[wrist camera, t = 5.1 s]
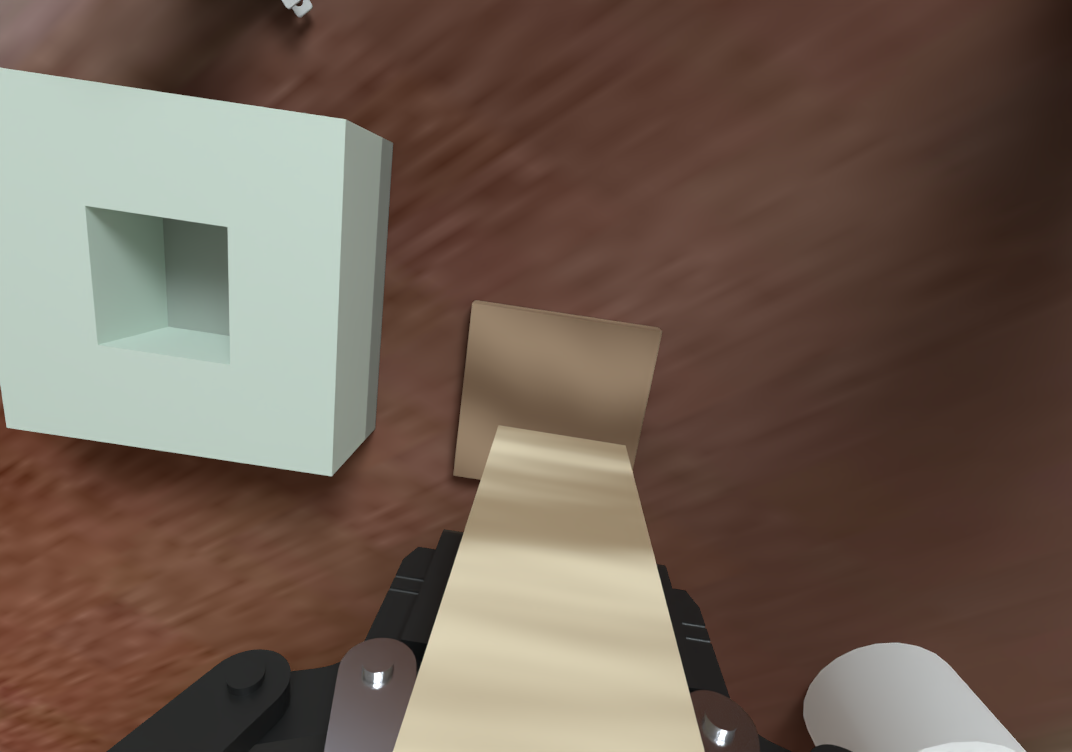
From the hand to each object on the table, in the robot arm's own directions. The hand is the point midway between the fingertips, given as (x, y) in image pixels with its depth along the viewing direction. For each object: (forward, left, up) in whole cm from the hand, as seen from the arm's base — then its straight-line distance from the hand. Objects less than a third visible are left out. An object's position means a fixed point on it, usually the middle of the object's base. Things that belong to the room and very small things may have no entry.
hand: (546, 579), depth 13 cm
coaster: (0, 0, -15) cm, 15 cm away
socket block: (-4, -16, -15) cm, 22 cm away
